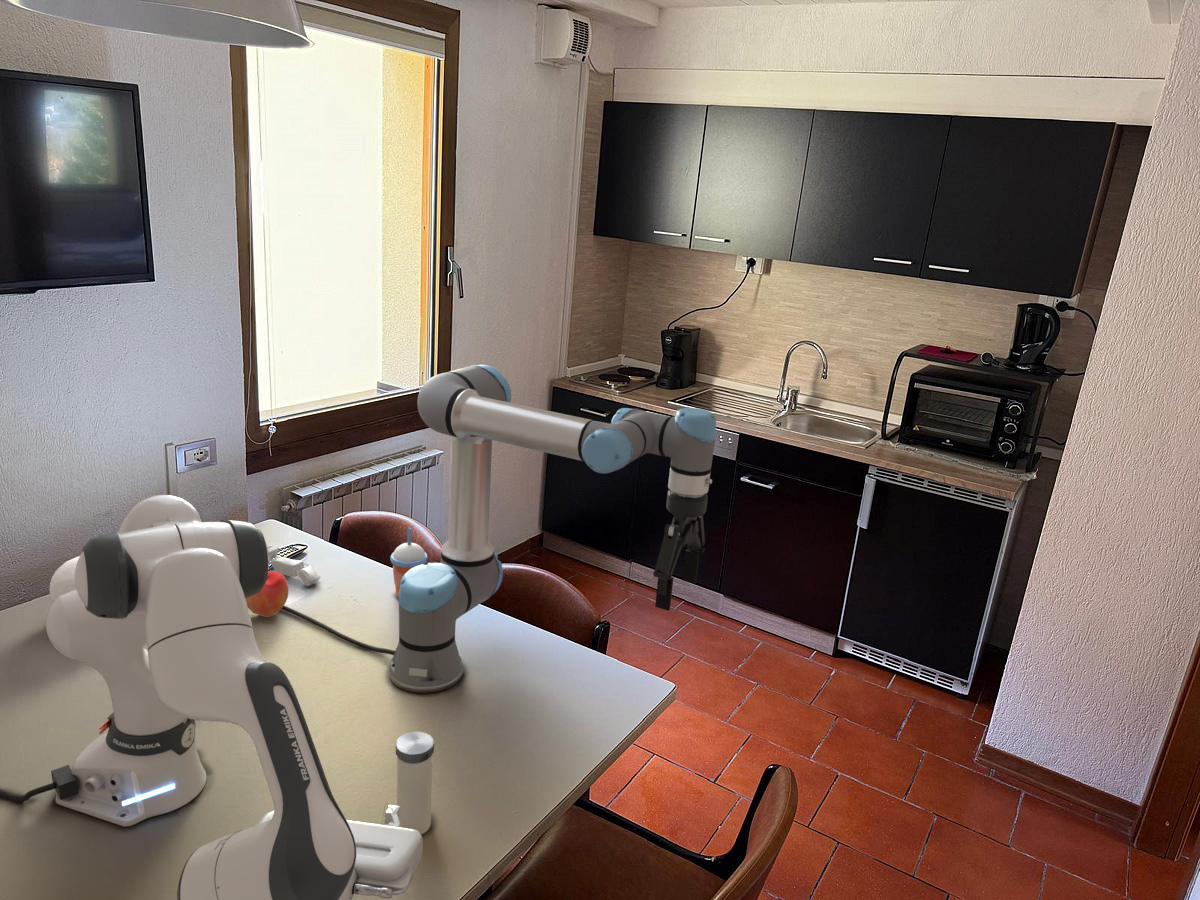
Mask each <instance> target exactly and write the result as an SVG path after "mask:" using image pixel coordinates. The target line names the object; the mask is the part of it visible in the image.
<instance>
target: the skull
mask: <svg viewBox="0 0 1200 900" xmlns="http://www.w3.org/2000/svg"><path fill="white" fill-rule="evenodd" d="M79 557H80V555H78V556H75V557H73V558H71V559H69V560H67V561H65V562H64V563H62V564H61V565H60V566H59V567H58V568H57V569H56V570H55V572H54V573H53V574H52V577H51V579H50V583H49V597H50V599H51V602H52V604H53V603H54V601H55V600H56V599H57V598H58V597H59V596H61V595H64V594H66V593H69V592H71V591H74V590H76V586H75V569H76V565H77V562H78V559H79Z"/></svg>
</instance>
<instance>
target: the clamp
mask: <svg viewBox="0 0 1200 900" xmlns="http://www.w3.org/2000/svg"><path fill="white" fill-rule="evenodd" d="M267 546H268V550H269V555H270V560H271V562H270V564H271V565H272V566H273V568H274V571H275V572H278V573H281V574H282V575H283V576H288V577H292V578H296V577H298V578H299V579H300V580H301V582H303V584H304V585H305V587H309V586H312V585H314V584H316V583H318V582H319V580H320V579H321V578H322V577H321V575H320V574H319V573H318V572H317V570H315V569H314V568H313V566H312V565H310V564H309V565H308V564H307V563H305V562H304V561H303V560H301V559H300V560H299V559H292V558H289V557H285V556H278V553H279V551H280V549H281V547H279V546H278V545H277V544H272V545H267ZM273 558H274V559H273ZM272 559H273V560H272ZM305 566H306V567H305ZM270 571H271V570H270Z"/></svg>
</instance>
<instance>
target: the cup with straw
mask: <svg viewBox="0 0 1200 900" xmlns="http://www.w3.org/2000/svg"><path fill="white" fill-rule="evenodd" d="M406 541H407V542H404V543H401V544H399V545H398V546H397V547H396V548H395V549H394V551H393V552H392V553H391V555H390V560H389V561H390V563H391V564H392V575H393V583H394V586H395V595H396V597H398V594H399V590H400V582H401V579H402V577H403V576H404V574H405V573H406V572H407V571H409V570H410V569H412V568H413V567H416V566H418V565H421V564H423V565H426V563H428V558H429V557H428V554H427V552H426V551H425V550H424V549H423V547H422V546H421V545H419V544H418V543H415V542H412V527H407V540H406Z"/></svg>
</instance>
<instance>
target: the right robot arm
mask: <svg viewBox="0 0 1200 900" xmlns="http://www.w3.org/2000/svg"><path fill="white" fill-rule="evenodd" d="M416 402H417V403H416V404H417V411H418V415H419V417H420V418H421V420H422V422H423V423H424V425H426V426H427V427H428V428H430V429H431V430H433V431H435V432H437V433H439V434H443V435H446V436H449V437H450V461H449V462H450V464H449V465H450V467H449V472H450V473H449V498H448V499H449V500H448V501H449V503H448V534H447V535H448V536H447V537H448V539H447V541H446V542H445V543H444V544H443V545H441V547H440V562H427V564H425V565H423V564H421V565H418V566H416V567H413V568H412V569H410V570H409V571H407V572H406V573H405V574H404V576H403V577H402V579H401V582H400V590H399V594H398V596H397V598H398V643H397V645H396V648H395V650H394V649H389V648H382V647H377V646H373V645H370V644H367V643H364V642H362V641H359V640H357V639H354V638H352V637H349V636H347V635H346V634H343V633H341V632H339V631H337V630H336V629H334V628H332V627H330V626H328V625H326V624H324V623H322V622H320V621H319V620H317V619H314V618H312V617H311V616H308V615H306V614H304V613H302V612H300V611H298V610H295V609H293V608H291V607H289V606H286V605H284V606H283V607H282V608H281V610H283V611H284V612H287V613H289V614H292V615H293V616H296V617H298V618H300V619H302V620H304V621H307V622H309V623H310V624H312V625H314V626H316V627H318V628H320V629H322V630H324V631H326V632H327V633H330V634H332V635H333V636H335V637H336V638H339V639H341V640H343V641H345V642H348V643H349V644H352V645H354V646H356V647H360V648H362V649H364V650H367V651H371V652H374V653H381V654H388V655H391V656H392V659H391V660H390V666H389V679H390V681H391V682H392V683H393V684H394V685H395V686H396V687H398V688H399V689H401V690H404V691H407V692H410V693H416V694H430V693H431V694H432V693H438V692H441V691H445V690H447V689H450V688H451V687H453V686H455V685H456V684H457V683H458V682H459V681H460V680H461V679H462V676H463V672H464V664H463V660H462V657H461V656H460V653H459V649H458V646H457V642H456V622H457V620H458V619H459V618H461V617H462V616H463V615H465V614H467V613H469V612H470V611H471V610H472V609H474V608H476V607H477V606H479V605H480V604H482V603H484V602H486V601H487V600H489V599H490V598H491V597H492V596H493V595H494V594H495V593H496V592H497V591H498V590H499V588H500V586H501V585H502V581H503V578H504V569H503V564H502V561H501V560H499V559H498V558H499V556H498V555H497V554H498V553H496V551H495V547H494V545H492V544H491V542H489V524H490V523H489V522H490V497H491V479H492V478H491V477H492V452H493V451H492V450H493V441H494V442H499V443H503V444H507V445H512V446H517V447H521V448H524V449H529V450H534V451H538V452H542V453H546V454H551V455H555V456H558V457H559V456H560V457H563V458H567V459H572V460H576V461H581V462H585V464H586V465H587V467H589V468H590V469H591V470H592V471H593V472H595V473H598V474H609V473H612V472H617V471H619V470H621V469H623V468H624V467H626V466H627V465H628V464H630V463H632V462H634V461H635V460H637V459H639V458H641V457H642V456H644V455H646V454H652V455H657V456H660V457H666V458H667V457H668V458H670V467H669V473H668V474H669V476H668V483H667V488H668V490H667V495H666V504H665V505H666V506H665V508H666V510H667V511H668V512H669V513H671V514H672V515H673V518H672V520H671V522H670V524H669V523H666V524H665V527H664V533H663V539H662V541H661V546H660V550H659V553H658V555H657V560H656V564H655V567H654V570H653V577H654V578H657V584H656V594H655V604H654V607H655V608H659V609H661V610H665V611H670V610H671V603H672V595H673V587H674V586H673V585H674V576H673V574H674V571H675V568H676V565H677V562H678V559H679V557H680V554H681V551H682V548H684V547H685V546H686V547H687V549H686V550H685V551H684V552H685V553H684V559H683V560H684V562H683V569H682V570H683V571H682V579H681V582H686V583H690V584H693V585H695V584H696V583H697V578H698V570H699V563H700V554H701V553H704V552H705V550H706V547H705V546H704V545H705V543H706V538H705V526H704V525H705V524H704V515H705V514H706V513H707V508H708V507H707V506H708V498H709V496H708V493H709V488H710V485H712V483H713V479H711V472H712V465H713V464H712V463H713V458H714V451H715V443H716V440H717V436H716V433H717V432H716V431H717V417H716V415H715V414H714V413H713V412H712V411H710V410H707V409H703V408H699V407H697V408H696V407H695V408H694V407H682V408H679V409H677V411H676V413H675V415H674V416H670V415H666V414H661V413H657V412H656V413H655V412H650V411H647V410H643V409H640V408H628V407H622V408H619V409H618V410H617V411H616V413H615V414H614V415H613V416H612V419H611V422H610V423H609V422H604V421H603V422H602V421H597V420H593V419H589V418H585V417H580V416H574V415H570V414H565V413H561V412H556V411H551V410H546V409H542V408H538V407H533V406H527V405H523V404H518V403H515V402H512V391H511V387H510V384H509V382H508V380H507V378H506V377H504V375H503V373H502V372H501V371H500V370H499V369H497V368H495V367H494V366H491V365H488V364H477V365H472V364H471V365H467V366H465V367H463V368H457V369H455V370H450V371H446V372H442V373H439V374H435V375H433V376H432V377H430V378H429V379H428V380H427V381H426V382H425V383H423V385H422V386H421V388H420V389H419V392H418V395H417V401H416Z"/></svg>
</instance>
